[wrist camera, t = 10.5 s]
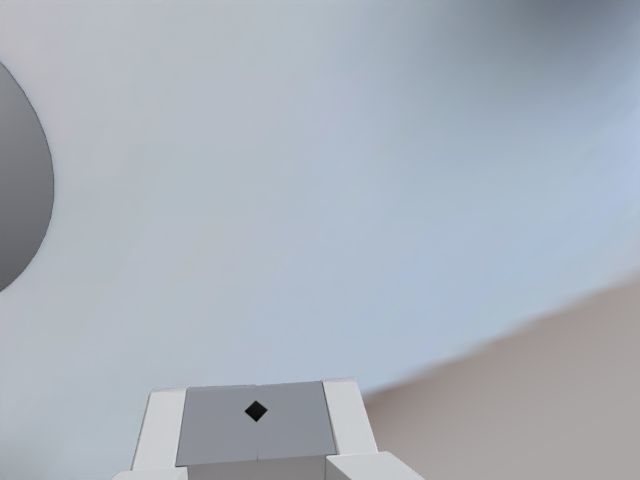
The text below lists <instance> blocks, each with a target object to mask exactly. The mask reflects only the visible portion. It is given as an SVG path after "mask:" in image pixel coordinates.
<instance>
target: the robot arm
mask: <svg viewBox="0 0 640 480" xmlns="http://www.w3.org/2000/svg"><path fill="white" fill-rule="evenodd" d="M111 480H425V479H424V478H422V477H421V476H420V475H419V474H417V473H416V472H415V471H413V470H412V469H411V468H409V467H408V466H407V465H406V464H404V463H403V462H402V461H400V460H399V459H398V458H396V457H395V456H394V455H392V454H391V453H390V452H378V449H377V446H376V443H375V440H374V436H373V433H372V430H371V427H370V424H369V420H368V417H367V414H366V410H365V408H364V404H363V401H362V398H361V394H360V391H359V388H358V385H357V381H356V380H355V379H354V378H353V377H347V378H336V379H325V380H321V381H313V382H298V383H282V384H267V385H233V386H206V387H189V388H186V387H183V388H165V389H153V391H152V392H151V393H150V395H149V397H148V401H147V405H146V409H145V413H144V417H143V421H142V425H141V430H140V434H139V438H138V442H137V446H136V450H135V454H134V458H133V462H132V466H131V470H130V471H124V472H118V473H117V474H116V475H115V476H114V477H113V478H112V479H111Z"/></svg>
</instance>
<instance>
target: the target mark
mask: <svg viewBox="0 0 640 480" xmlns="http://www.w3.org/2000/svg"><path fill="white" fill-rule="evenodd" d="M53 201H54V174H53V166H52V159H51V154H50V151H49V147H48V143H47V140H46V136H45V133H44V131H43V129H42V126H41V124H40V122H39V119H38V117H37V114H36V112H35V111H34V109H33V107H32V105H31V104H30V102H29V100H28V98H27V97H26V95H25V93H24V91H23V90H22V89H21V87H20V86H19V85H18V83H17V82H16V80H15V79H14V78H13V76H12V75H11V74H10V72H9V71H8V70H7V69H6V67H5V66H4V65H3V64H2V63H1V62H0V291H1V290H2V289H3V288H5V287H6V286H7V285H9V284H10V283H11V282H12V281H13V280H14V279H15V278H16V277H17V276H18V275H19V274H20V273H21V272H22V271H23V270H24V269H25V268H26V266H27V265H28V264H29V262H30V261H31V260H32V258H33V257H34V255H35V254H36V253H37V251H38V249H39V247H40V245H41V243H42V241H43V239H44V237H45V235H46V231H47V228H48V225H49V222H50V219H51V214H52V207H53Z"/></svg>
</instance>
